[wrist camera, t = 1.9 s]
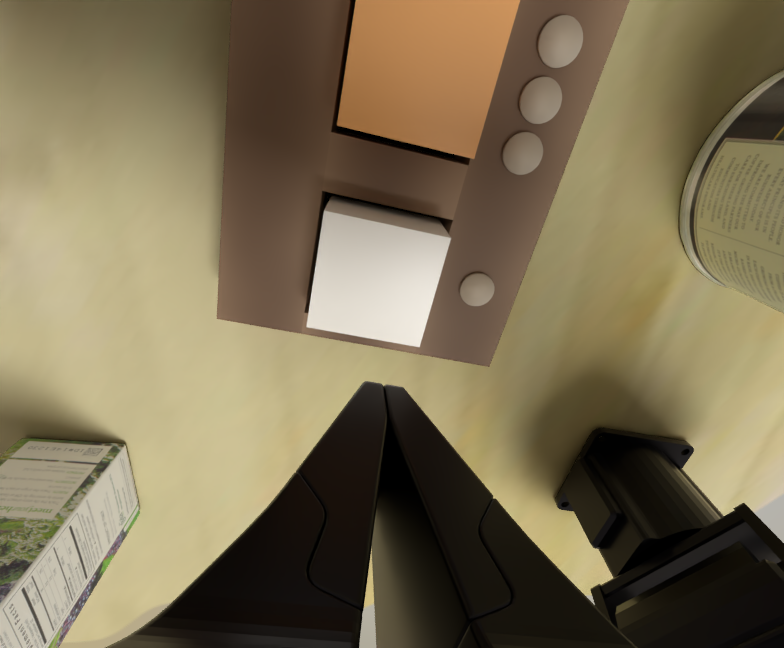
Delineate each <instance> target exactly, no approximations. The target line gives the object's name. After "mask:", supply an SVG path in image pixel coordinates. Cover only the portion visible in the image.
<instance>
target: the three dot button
mask: <svg viewBox="0 0 784 648" xmlns="http://www.w3.org/2000/svg"><path fill="white" fill-rule="evenodd" d="M519 3H520V0H356V2H355V9H354V15H353V22H352V29H351V35H350V42H349V48H348V55H347V62H346V68H345V75H344V81H343V88H342V95H341V101H340V108H339V114H338V121H337V126H341V127H345V128H349V129H353V130H357V131H361V132H365V133H370V134H374V135H378V136H382V137H386V138H390V139H394V140H398V141H402V142H406V143H410V144H414V145H418V146H423V147H427V148H431V149H435V150H439V151H443V152H447V153H451V154H455V155H459V156H463V157H467V158H471V159H474V158H475V154H476V151H477V147H478V144H479V141H480V137H481V134H482V130H483V127H484V123H485V120H486V116H487V113H488V110H489V106H490V103H491V99H492V96H493V92H494V89H495V85H496V82H497V78H498V75H499V72H500V68H501V65H502V61H503V58H504V54H505V51H506V47H507V44H508V41H509V37H510V34H511V30H512V27H513V23H514V20H515V16H516V13H517V10H518V6H519Z"/></svg>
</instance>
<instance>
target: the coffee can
mask: <svg viewBox="0 0 784 648" xmlns="http://www.w3.org/2000/svg"><path fill="white" fill-rule="evenodd" d="M680 235H681V239H682V242H683V244H684V248H685V251H686V253H687V255H688V257H689V259H690V260H691V262H692V263H693V265H694V266H695V267H696V268H697V269H698V270H699V271H700V272H701V273H702V274H703V275H704V276H706V277H707V278H708V279H710V280H711V281H713V282H715V283H717V284H718V285H720V286H724V287H727V288H731V289H734V290H736V291H738V292H740V293H742V294H745V295H747V296H749V297H751V298H753V299H755V300H757V301H759V302H761V303H763V304H765V305H767V306H769V307H771V308H773V309H775V310H778V311H780V312H782V313H784V70H782V71H780V72H778V73H777V74H775V75H773V76H772V77H770V78H768V79H767V80H765V81H764V82H763V83H761V84H760V85H758V86H757V87H756V88H755V89H753V90H752V91H751V92H749V93H748V94H747V95H746V96H745V97H744V98H743V99H741V100H740V101H739V102H738V103H737V104H736V105H735V106H734V107H733V108H732V109H731V110H730V111H729V112H728V113H727V114H726V115H725V116H724V118H723V119H722V120H721V121H720V122H719V124H718V125H717V126H716V127H715V129H714V130H713V131H712V133H711V134H710V135H709V137H708V138H707V140H706V141H705V143H704V144H703V146H702V147H701V149H700V151H699V153H698V155H697V157H696V159H695V161H694V163H693V165H692V167H691V170H690V172H689V175H688V178H687V180H686V183H685V186H684V191H683V195H682V200H681V206H680Z"/></svg>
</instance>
